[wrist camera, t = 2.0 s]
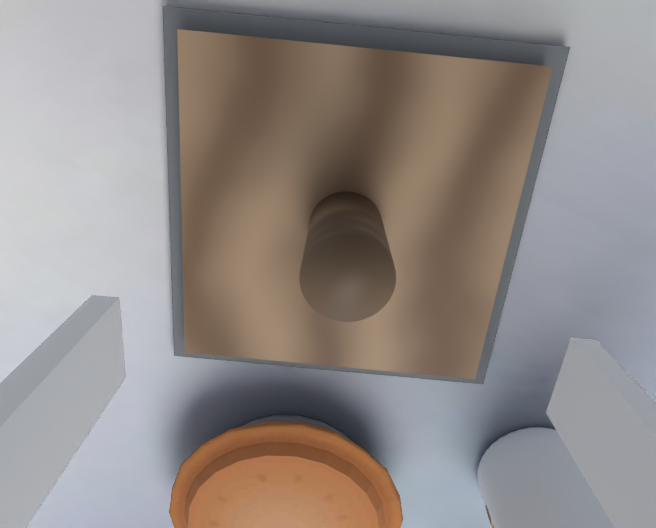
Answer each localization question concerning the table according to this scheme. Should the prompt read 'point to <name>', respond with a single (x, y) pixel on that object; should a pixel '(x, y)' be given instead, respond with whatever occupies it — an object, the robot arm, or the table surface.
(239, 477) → the pie
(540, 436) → the milk bottle
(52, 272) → the table surface
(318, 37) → the rubber mat
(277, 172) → the walnut lid
